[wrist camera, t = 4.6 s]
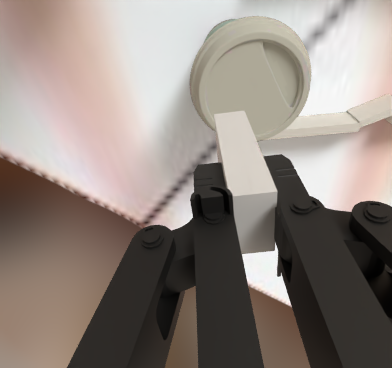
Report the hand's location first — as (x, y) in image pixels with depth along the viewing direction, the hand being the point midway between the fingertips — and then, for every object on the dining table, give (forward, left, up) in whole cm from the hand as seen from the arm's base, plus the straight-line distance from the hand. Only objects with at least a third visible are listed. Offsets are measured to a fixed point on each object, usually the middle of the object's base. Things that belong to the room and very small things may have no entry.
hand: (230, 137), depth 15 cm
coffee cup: (+2, 0, -18) cm, 18 cm away
